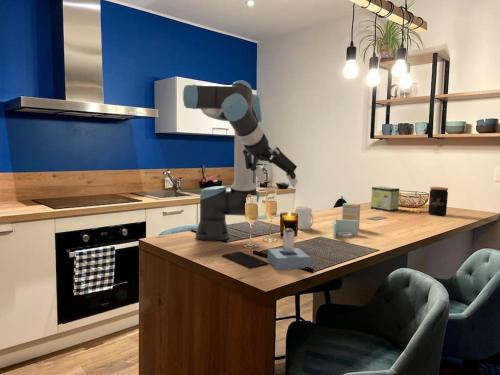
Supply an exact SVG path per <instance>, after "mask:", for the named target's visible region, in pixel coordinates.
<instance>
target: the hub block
mask: <svg viewBox="0 0 500 375" xmlns="http://www.w3.org/2000/svg"><path fill="white" fill-rule="evenodd" d="M282 254H283V247H282V248H268V249H267V261H268V263H269V264H271V265H272V267H274V269H276V270H295V269H296V270H297V269H306V268H305V267H309V268H310V265H311V256H309V255H308V254H307V253H305V252H304V251H303V250H302V249H300V248H299V247H294V255H282Z"/></svg>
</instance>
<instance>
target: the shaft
mask: <svg viewBox="0 0 500 375" xmlns="http://www.w3.org/2000/svg"><path fill="white" fill-rule="evenodd" d="M282 232H283V233H282V248H283V254H282V255H294V248H295V231H294V229H293V228H291V227H290V228H288V227H287V228H284V230H283V231H282Z"/></svg>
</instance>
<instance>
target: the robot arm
mask: <svg viewBox="0 0 500 375" xmlns="http://www.w3.org/2000/svg"><path fill="white" fill-rule="evenodd" d="M182 99H183V106H184V107H185V108H186V109H192V110H201V112H202V113H203V115H205V116H207V117H208V118H211V119H214V120H217V121H223V122H229V124H230V126H231V127H232V129H233V130H234V148H233V149H234V152H233V153H234V157H233V159H234V162H233V163H234V164H233V168H234V171H233V183H232V184H231V185H230V189H227V186H225V185H220V186H219V185H217V186H209V187H205V188H203V189H201V190H200V196H199V202H200V203H199V222H198V226H197V228H196V232H195V238H196V239H198V240H201V241H205V242H206V241H207V242H217V241H219V242H220V241H224V239H225V240H227V239H229V238H230V231H229V228H228V225H227V222H226V217H227V216H242V217H243V216H245V203H246V197H247V195H248V194H251V195H256V196H257V202H258V203H259V198H260V190H258V189H257V185H256V184H255V183H254V175H255V176H256V177H257V179H258V180H259V182H260V183H261V184H264V183H265V182H266V180H267V177H266V175H265V174H264V172H263V170H262V169H261V167H260V165H258V163H259V161H261V162H264V161H265V162H268V163H270V164H274V165H275V166H276V167H278V168H279V169H280V170H282V171H283V172H285V176H286V177H287V179H288V182H289V183H290V185H291V186H292V188H295V187H296V186H297V183H298V182H299V181H298V178H297V175H296V173H295V171H296V169H297V168H298V166H297V165H296V164H295V163H294V162H293V161H292V160H290V158H289V157H287V155H286V154H284V153H283V152H282V151H281V149H280V148H279V146H278V147H277V146H276V147H275V148H271V147H270V145H269V139H268V137H267V136H266V134H265V133H264V131H263V128H262V127H261V126H260V124H259V123H261V122H262V120H263V119H262V111H261V100H260V97H259V95H258V94H257V93H253V89H252V86H251V84H250V83H249V82H248V81H246V80H242V79H240V80H239V79H238V80H236V81H234V82H232V84H231V85H219V84H218V85H217V84H216V85H212V84H211V85H209V84H208V85H207V84H204V85H203V84H186V85H185V86H184V87H183V92H182ZM245 217H246V216H245Z"/></svg>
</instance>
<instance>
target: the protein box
mask: <svg viewBox="0 0 500 375" xmlns="http://www.w3.org/2000/svg"><path fill="white" fill-rule="evenodd" d="M370 199H371V200H370V209H371V210H375V209H376V210H377V211H381V210H382V211H383V212H387V213H392V212H398V211H399V204H400V203H399V202H400V188H398V187H397V188H395V187H386V186H372V187H371V197H370ZM397 210H398V211H397Z"/></svg>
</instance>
